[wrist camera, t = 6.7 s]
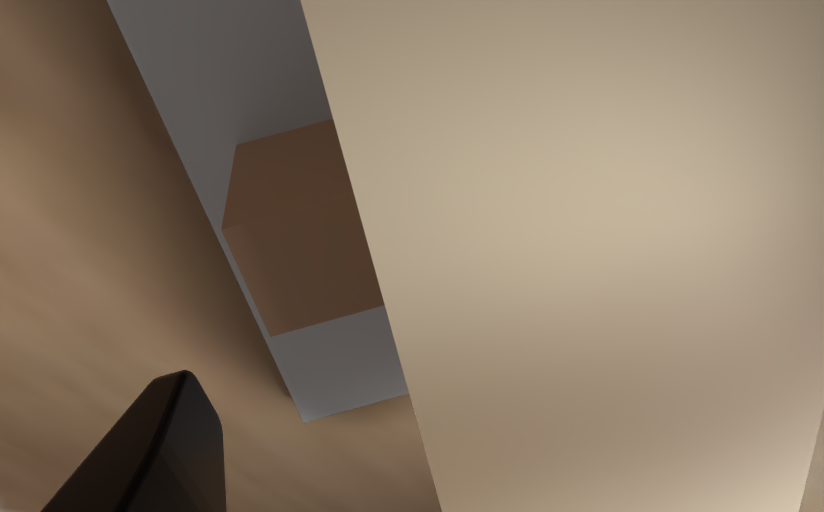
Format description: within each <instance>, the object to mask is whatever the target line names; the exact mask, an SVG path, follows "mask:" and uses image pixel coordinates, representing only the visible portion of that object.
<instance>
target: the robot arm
mask: <svg viewBox="0 0 824 512" xmlns="http://www.w3.org/2000/svg"><path fill="white" fill-rule="evenodd" d="M41 512H227V510H226V490H225V470H224V450H223V433H222V426H221V423H220V419H219V417H218V415H217V413H216V411H215V409H214V407H213V406H212V404H211V402H210V400H209V399H208V397H207V395H206V393H205V392H204V390H203V388H202V387H201V385H200V383H199V381H198V380H197V378H196V376H195V375H194V374H193V373H192V372H190V371H187V370H182V371H178V372H175V373H171V374H167V375H164V376H160V377H158V378H155V379H154V380H153V381H152V382H151V383H150V384H149V385H148V386H147V387H146V388H145V389H144V391H143V392H142V393H141V394H140V395H139V396H138V398H137V399H136V400H135V401H134V402H133V404H132V405H131V406H130V407H129V408H128V409H127V411H126V412H125V413H124V414H123V415H122V416H121V418H120V419H119V420H118V421H117V422H116V424H115V425H114V426H113V427H112V428H111V429H110V431H109V432H108V433H107V434H106V435H105V436H104V438H103V439H102V440H101V441H100V442H99V443H98V445H97V446H96V447H95V448H94V449H93V451H92V452H91V453H90V454H89V455H88V456H87V458H86V459H85V460H84V461H83V462H82V463H81V465H80V466H79V467H78V468H77V469H76V471H75V472H74V473H73V474H72V475H71V476H70V478H69V479H68V480H67V481H66V482H65V483H64V485H63V486H62V487H61V488H60V489H59V490H58V492H57V493H56V494H55V495H54V496H53V498H52V499H51V500H50V501H49V502H48V503H47V505H46V506H45V507H44V508H43V509H42V510H41Z"/></svg>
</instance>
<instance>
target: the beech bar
mask: <svg viewBox="0 0 824 512" xmlns="http://www.w3.org/2000/svg"><path fill="white" fill-rule="evenodd" d="M301 4H302V8H303V11H304V15H305V19H306V22H307V26H308V29H309V33H310V37H311V40H312V44H313V47H314V51H315V55H316V58H317V62H318V66H319V69H320V73H321V76H322V80H323V84H324V87H325V91H326V94H327V98H328V102H329V105H330V109H331V113H332V116H333V120H334V123H335V127H336V131H337V134H338V138H339V141H340V145H341V149H342V152H343V156H344V160H345V163H346V167H347V170H348V174H349V178H350V181H351V185H352V188H353V192H354V196H355V199H356V203H357V207H358V210H359V214H360V217H361V221H362V225H363V228H364V232H365V235H366V239H367V243H368V246H369V250H370V254H371V257H372V261H373V264H374V268H375V272H376V275H377V279H378V283H379V286H380V290H381V293H382V297H383V301H384V304H385V308H386V311H387V315H388V319H389V322H390V326H391V330H392V333H393V337H394V340H395V344H396V348H397V351H398V355H399V358H400V362H401V366H402V369H403V373H404V377H405V380H406V384H407V387H408V391H409V395H410V398H411V402H412V405H413V409H414V413H415V416H416V420H417V424H418V427H419V431H420V434H421V438H422V442H423V445H424V449H425V452H426V456H427V460H428V463H429V467H430V471H431V474H432V478H433V481H434V485H435V489H436V492H437V496H438V499H439V503H440V507H441V510H442V512H799V508H800V504H801V500H802V496H803V492H804V488H805V484H806V480H807V476H808V472H809V468H810V464H811V460H812V455H813V451H814V447H815V443H816V439H817V435H818V431H819V427H820V423H821V419H822V415H823V411H824V0H301Z"/></svg>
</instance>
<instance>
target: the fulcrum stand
mask: <svg viewBox="0 0 824 512" xmlns="http://www.w3.org/2000/svg"><path fill="white" fill-rule="evenodd" d="M107 3H108V5H109V7H110V9H111V11H112V13H113V15H114V18H115V20H116V22H117V24H118V26H119V28H120V30H121V33H122V35H123V37H124V39H125V41H126V43H127V45H128V48H129V50H130V52H131V54H132V56H133V58H134V60H135V63H136V65H137V67H138V69H139V71H140V73H141V75H142V78H143V80H144V82H145V84H146V86H147V88H148V90H149V93H150V95H151V97H152V99H153V101H154V103H155V105H156V108H157V110H158V112H159V114H160V116H161V118H162V120H163V123H164V125H165V127H166V129H167V131H168V133H169V135H170V138H171V140H172V142H173V144H174V146H175V148H176V150H177V153H178V155H179V157H180V159H181V161H182V163H183V165H184V168H185V170H186V172H187V174H188V176H189V178H190V180H191V183H192V185H193V187H194V189H195V191H196V193H197V195H198V198H199V200H200V202H201V204H202V206H203V208H204V210H205V213H206V215H207V217H208V219H209V221H210V223H211V225H212V228H213V230H214V232H215V234H216V236H217V238H218V240H219V242H220V245H221V247H222V249H223V251H224V253H225V255H226V257H227V260H228V262H229V264H230V266H231V268H232V270H233V272H234V275H235V277H236V279H237V281H238V283H239V285H240V287H241V290H242V292H243V294H244V296H245V298H246V300H247V302H248V305H249V307H250V309H251V311H252V313H253V315H254V317H255V320H256V322H257V324H258V326H259V328H260V330H261V332H262V335H263V337H264V339H265V341H266V343H267V345H268V347H269V350H270V352H271V354H272V356H273V358H274V360H275V362H276V365H277V367H278V369H279V371H280V373H281V375H282V377H283V380H284V382H285V384H286V386H287V388H288V390H289V392H290V395H291V397H292V399H293V401H294V403H295V405H296V407H297V410H298V412H299V414H300V416H301V418H302V420H303V422H304V423H306V422H309V421H313V420H316V419H320V418H324V417H327V416H331V415H334V414H338V413H341V412H345V411H349V410H352V409H356V408H359V407H363V406H366V405H370V404H373V403H377V402H381V401H384V400H388V399H391V398H395V397H398V396H402V395H406V394H409V391H408V387H407V384H406V380H405V377H404V373H403V369H402V366H401V362H400V358H399V355H398V351H397V348H396V344H395V340H394V337H393V333H392V330H391V326H390V322H389V319H388V315H387V311H386V308H385V304H384V301H383V297H382V293H381V290H380V286H379V283H378V279H377V275H376V272H375V268H374V264H373V261H372V257H371V254H370V250H369V246H368V243H367V239H366V235H365V232H364V228H363V225H362V221H361V217H360V214H359V210H358V207H357V203H356V199H355V196H354V192H353V188H352V185H351V181H350V178H349V174H348V170H347V167H346V163H345V160H344V156H343V152H342V149H341V145H340V141H339V138H338V134H337V131H336V127H335V123H334V120H333V116H332V113H331V109H330V105H329V102H328V98H327V94H326V91H325V87H324V84H323V80H322V76H321V73H320V69H319V66H318V62H317V58H316V55H315V51H314V47H313V44H312V40H311V37H310V33H309V29H308V26H307V22H306V19H305V15H304V11H303V8H302V4H301V0H107Z"/></svg>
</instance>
